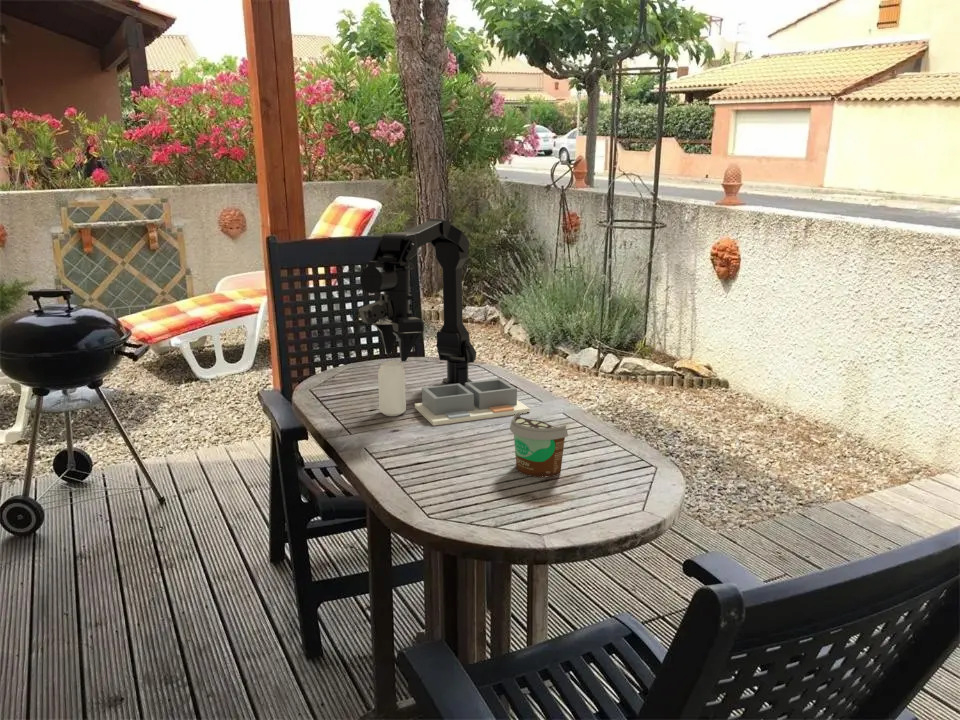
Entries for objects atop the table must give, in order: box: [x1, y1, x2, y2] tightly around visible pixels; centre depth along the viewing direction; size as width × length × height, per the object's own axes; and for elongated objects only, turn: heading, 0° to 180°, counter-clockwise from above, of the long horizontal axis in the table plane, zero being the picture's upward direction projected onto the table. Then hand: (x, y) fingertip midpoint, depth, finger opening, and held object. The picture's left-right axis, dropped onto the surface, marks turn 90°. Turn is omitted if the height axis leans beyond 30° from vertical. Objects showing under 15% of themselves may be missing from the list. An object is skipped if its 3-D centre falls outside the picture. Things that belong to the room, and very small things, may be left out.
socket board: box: [414, 378, 531, 426], centre depth 183 cm, size 14×24×5 cm, turn 112°
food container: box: [509, 412, 569, 478], centre depth 146 cm, size 12×6×10 cm, turn 47°
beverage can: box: [377, 361, 407, 417], centre depth 180 cm, size 6×6×12 cm
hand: (395, 357), depth 177 cm, fingers open, 9 cm apart
